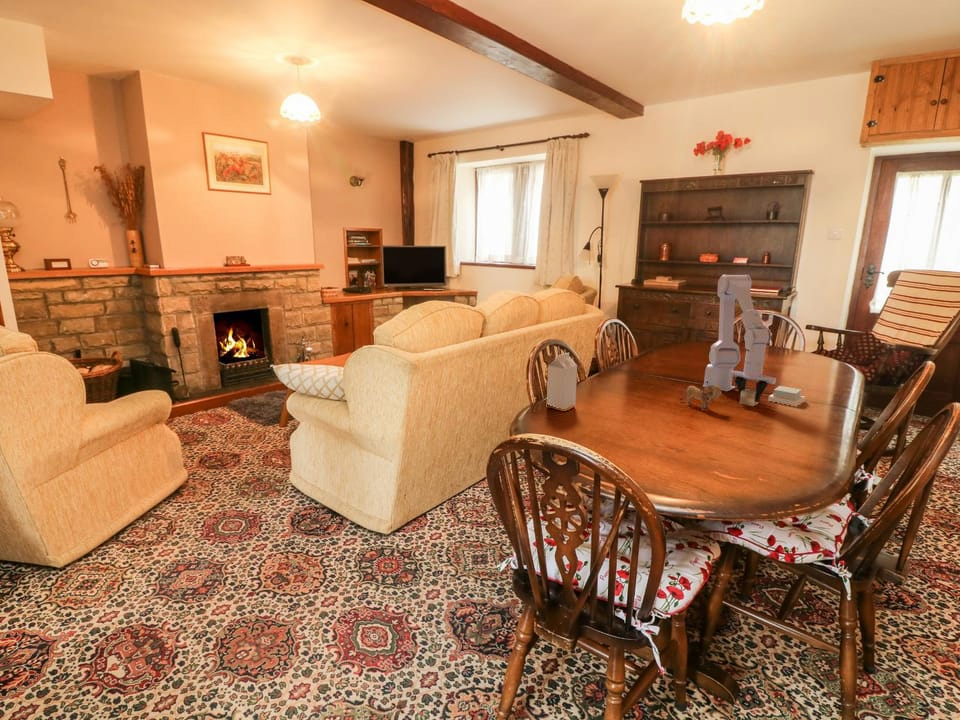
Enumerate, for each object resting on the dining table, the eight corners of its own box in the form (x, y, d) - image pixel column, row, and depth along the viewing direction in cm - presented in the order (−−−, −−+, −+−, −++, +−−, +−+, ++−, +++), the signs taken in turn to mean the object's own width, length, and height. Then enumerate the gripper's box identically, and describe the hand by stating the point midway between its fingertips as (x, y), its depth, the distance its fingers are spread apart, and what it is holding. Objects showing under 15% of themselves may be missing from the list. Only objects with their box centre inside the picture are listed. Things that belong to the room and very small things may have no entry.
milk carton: (546, 408, 169) (548, 354, 165) (558, 403, 174) (560, 350, 170) (563, 413, 164) (566, 357, 160) (575, 408, 169) (578, 353, 165)
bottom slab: (767, 402, 178) (768, 396, 178) (776, 397, 184) (777, 391, 183) (796, 408, 172) (797, 401, 171) (804, 403, 178) (805, 396, 177)
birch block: (739, 403, 175) (741, 391, 174) (744, 400, 178) (745, 388, 177) (753, 406, 172) (754, 394, 171) (757, 403, 175) (759, 391, 174)
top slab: (773, 396, 177) (773, 389, 177) (778, 392, 182) (779, 385, 182) (795, 400, 173) (796, 393, 172) (800, 396, 177) (801, 389, 177)
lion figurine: (722, 410, 167) (725, 385, 165) (713, 413, 164) (716, 387, 162) (683, 400, 179) (685, 376, 177) (674, 402, 176) (676, 378, 174)
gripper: (727, 360, 174) (723, 397, 177) (772, 367, 164) (767, 406, 167) (735, 357, 179) (731, 393, 182) (780, 364, 168) (774, 402, 171)
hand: (749, 399), depth 175 cm, fingers closed on birch block, 4 cm apart
